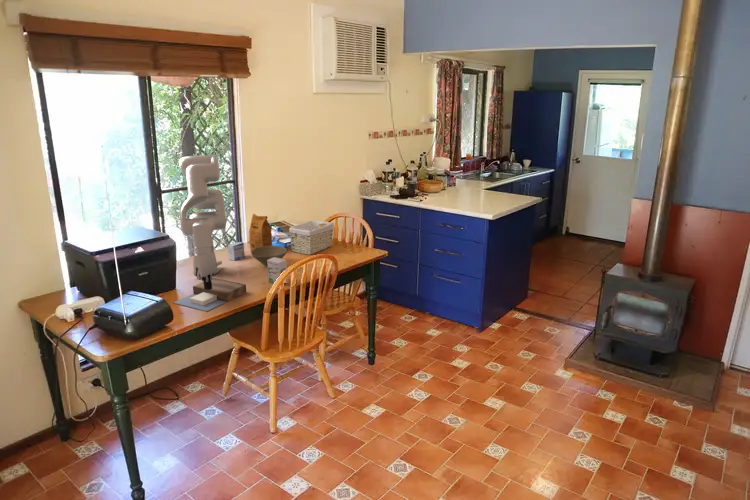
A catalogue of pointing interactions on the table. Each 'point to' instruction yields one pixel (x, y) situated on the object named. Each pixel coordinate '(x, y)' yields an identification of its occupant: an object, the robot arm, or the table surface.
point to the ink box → (275, 268)
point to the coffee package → (260, 232)
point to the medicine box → (236, 251)
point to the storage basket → (311, 236)
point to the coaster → (203, 298)
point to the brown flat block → (222, 289)
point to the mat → (206, 307)
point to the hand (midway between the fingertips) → (208, 288)
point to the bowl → (268, 253)
